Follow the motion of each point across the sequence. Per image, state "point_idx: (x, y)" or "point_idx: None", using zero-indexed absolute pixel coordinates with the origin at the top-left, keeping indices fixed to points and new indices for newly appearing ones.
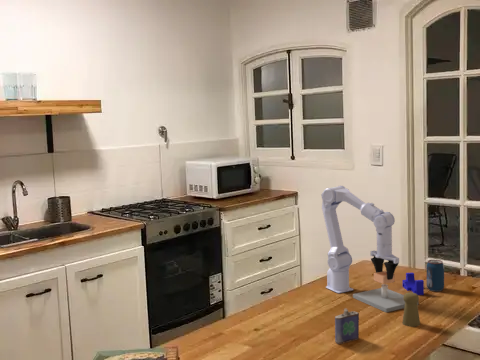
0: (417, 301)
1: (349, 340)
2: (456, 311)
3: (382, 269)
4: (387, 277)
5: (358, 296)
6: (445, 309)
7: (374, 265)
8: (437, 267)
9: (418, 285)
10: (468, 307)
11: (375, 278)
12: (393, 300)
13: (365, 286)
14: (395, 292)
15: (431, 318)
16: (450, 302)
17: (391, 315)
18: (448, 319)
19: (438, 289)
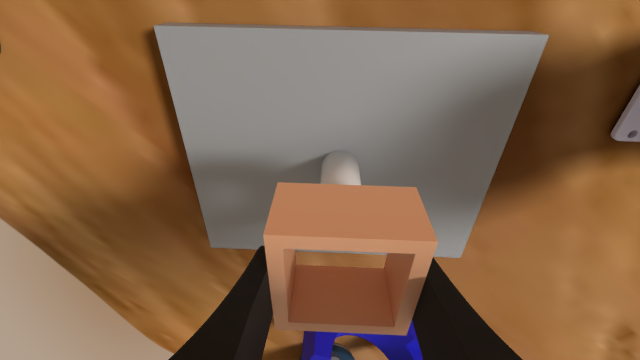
0: None
1: None
2: (98, 276)
3: (418, 340)
4: (265, 258)
5: (476, 34)
6: (128, 265)
7: (496, 348)
8: None
9: (312, 337)
10: (128, 317)
11: (395, 201)
12: (269, 168)
13: (575, 226)
14: None
15: (26, 162)
16: (193, 314)
17: (106, 12)
18: (8, 206)
19: (301, 356)
